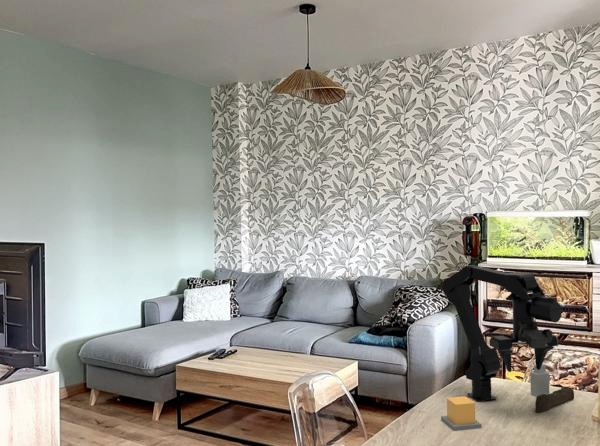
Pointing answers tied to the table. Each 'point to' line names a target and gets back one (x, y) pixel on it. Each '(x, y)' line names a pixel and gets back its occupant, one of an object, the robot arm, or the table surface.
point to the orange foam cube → (461, 410)
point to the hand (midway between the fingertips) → (524, 370)
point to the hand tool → (553, 399)
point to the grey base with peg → (461, 426)
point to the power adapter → (539, 381)
